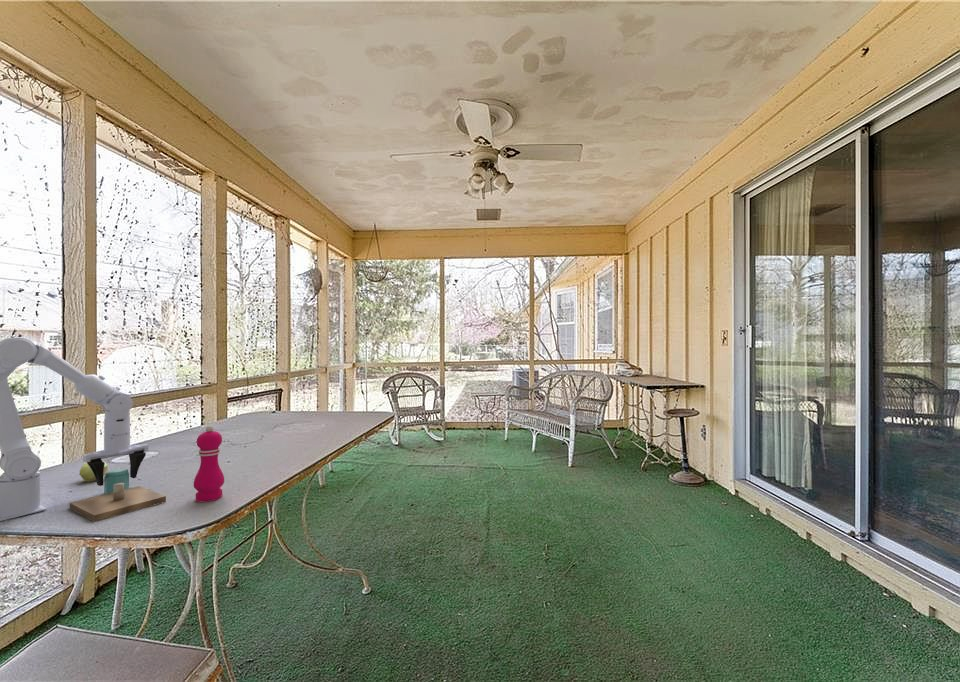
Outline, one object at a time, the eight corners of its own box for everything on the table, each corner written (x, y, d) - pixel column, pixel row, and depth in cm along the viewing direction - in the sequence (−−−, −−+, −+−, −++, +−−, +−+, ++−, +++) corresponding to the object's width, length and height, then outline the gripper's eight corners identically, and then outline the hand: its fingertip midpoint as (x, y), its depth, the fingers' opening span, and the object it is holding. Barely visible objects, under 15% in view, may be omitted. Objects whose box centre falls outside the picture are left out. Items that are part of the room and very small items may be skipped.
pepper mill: (218, 491, 123) (219, 422, 123) (228, 497, 118) (229, 425, 118) (189, 498, 117) (190, 425, 117) (198, 504, 112) (199, 429, 113)
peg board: (94, 521, 102) (94, 498, 102) (69, 508, 110) (69, 487, 110) (165, 501, 115) (166, 481, 115) (139, 491, 123) (139, 472, 123)
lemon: (92, 461, 130) (111, 455, 137) (71, 464, 130) (91, 458, 137) (95, 482, 130) (114, 475, 137) (74, 485, 130) (94, 478, 137)
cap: (109, 495, 119) (109, 475, 119) (102, 492, 121) (102, 472, 121) (131, 490, 123) (131, 470, 123) (123, 487, 126) (123, 468, 126)
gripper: (90, 440, 114) (89, 491, 114) (153, 430, 127) (153, 476, 127) (80, 437, 118) (79, 486, 118) (142, 428, 130) (142, 472, 130)
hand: (117, 481), depth 122 cm, fingers open, 7 cm apart
